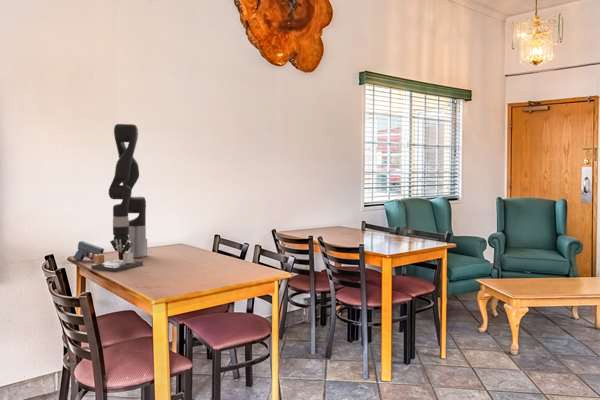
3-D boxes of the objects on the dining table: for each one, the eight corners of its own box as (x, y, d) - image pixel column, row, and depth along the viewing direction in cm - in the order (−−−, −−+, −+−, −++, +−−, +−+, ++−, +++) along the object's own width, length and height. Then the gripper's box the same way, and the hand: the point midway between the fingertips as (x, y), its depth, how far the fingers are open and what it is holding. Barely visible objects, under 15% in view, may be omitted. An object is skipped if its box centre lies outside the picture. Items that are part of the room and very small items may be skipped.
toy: (98, 267, 254) (102, 249, 253) (73, 258, 257) (76, 240, 256) (101, 266, 257) (105, 248, 255) (76, 257, 260) (80, 239, 258)
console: (119, 262, 252) (119, 258, 251) (143, 265, 245) (143, 261, 245) (91, 268, 235) (91, 264, 235) (115, 272, 228) (115, 267, 228)
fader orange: (99, 262, 239) (99, 253, 238) (104, 263, 237) (104, 253, 237) (93, 263, 235) (93, 254, 235) (98, 264, 234) (98, 255, 234)
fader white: (128, 261, 241) (128, 252, 241) (133, 262, 240) (133, 253, 240) (123, 262, 238) (123, 253, 238) (127, 263, 237) (127, 254, 236)
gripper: (136, 225, 240) (137, 259, 241) (116, 223, 246) (117, 257, 247) (125, 226, 233) (126, 262, 235) (105, 225, 239) (106, 260, 240)
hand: (121, 259), depth 241 cm, fingers closed
